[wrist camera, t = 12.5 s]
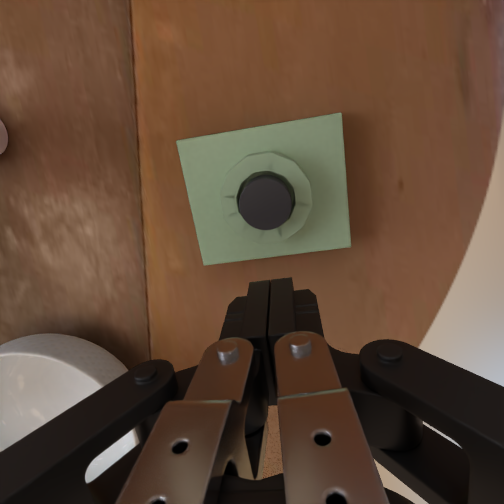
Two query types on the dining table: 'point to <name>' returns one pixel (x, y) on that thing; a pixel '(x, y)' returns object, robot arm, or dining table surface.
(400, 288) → the dining table surface
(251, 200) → the button
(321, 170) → the block
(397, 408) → the robot arm
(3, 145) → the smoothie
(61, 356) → the cereal bowl
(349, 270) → the dining table surface
